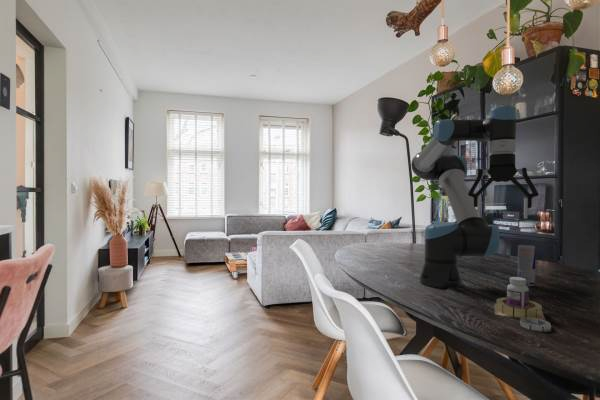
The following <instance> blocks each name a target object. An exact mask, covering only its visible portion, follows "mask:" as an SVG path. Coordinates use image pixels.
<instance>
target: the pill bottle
mask: <svg viewBox="0 0 600 400" xmlns="http://www.w3.org/2000/svg"><path fill="white" fill-rule="evenodd" d="M509 283H510V284H507V287H506V298H507V305H511V306H514V307H521V308H529V301H530V298H529V297H530V289H529V286H525V284H526V279H524V278H520V277H518V276H510V277H509Z"/></svg>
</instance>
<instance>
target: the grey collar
mask: <svg viewBox="0 0 600 400" xmlns="http://www.w3.org/2000/svg"><path fill="white" fill-rule="evenodd" d="M545 320H546V319H545ZM545 320H542V319H538V318H530V317H529V318H528V317H525V318H519V322H520V324H519V325H520V327H521V328H524V329H527V330H529V331H534V332H539V333H541V332H543V333H546V332H551V331H552V325H551V322H549V321H548V320H546V321H545Z"/></svg>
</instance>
